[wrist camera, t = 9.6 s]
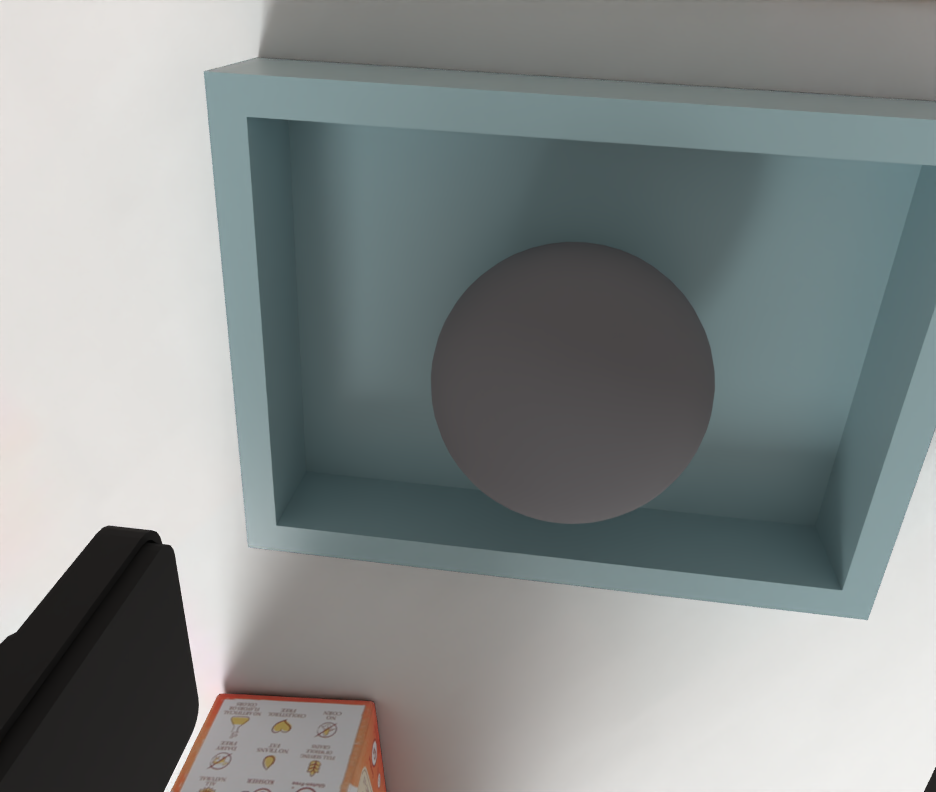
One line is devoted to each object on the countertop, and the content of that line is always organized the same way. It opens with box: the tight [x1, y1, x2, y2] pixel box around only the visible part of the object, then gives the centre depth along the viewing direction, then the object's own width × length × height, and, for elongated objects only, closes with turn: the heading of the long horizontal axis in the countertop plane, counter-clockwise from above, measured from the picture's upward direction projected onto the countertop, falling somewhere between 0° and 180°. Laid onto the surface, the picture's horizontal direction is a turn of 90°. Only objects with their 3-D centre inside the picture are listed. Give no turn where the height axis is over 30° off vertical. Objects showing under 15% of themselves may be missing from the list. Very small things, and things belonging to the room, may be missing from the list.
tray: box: [204, 58, 936, 620], centre depth 19 cm, size 15×18×3 cm
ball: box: [431, 242, 715, 524], centre depth 18 cm, size 6×6×6 cm
